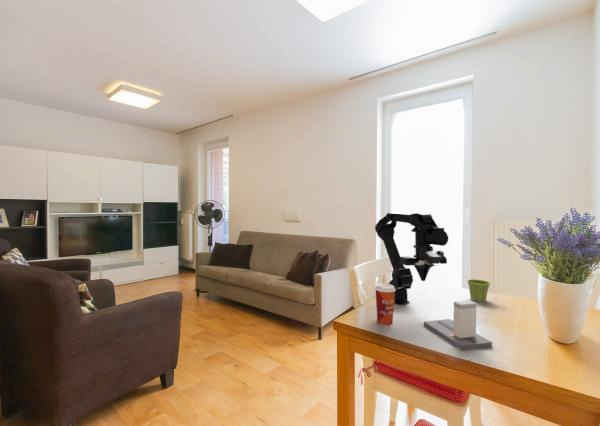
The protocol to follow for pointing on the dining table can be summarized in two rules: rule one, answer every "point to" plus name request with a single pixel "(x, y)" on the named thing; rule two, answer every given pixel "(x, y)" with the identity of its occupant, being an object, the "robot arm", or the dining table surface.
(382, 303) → the paper cup
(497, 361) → the dining table surface
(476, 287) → the plant pot
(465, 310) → the fader handle
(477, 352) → the dining table surface
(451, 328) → the fader console
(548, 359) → the dining table surface
